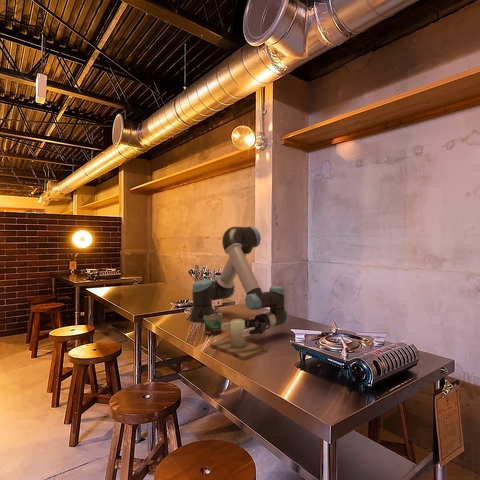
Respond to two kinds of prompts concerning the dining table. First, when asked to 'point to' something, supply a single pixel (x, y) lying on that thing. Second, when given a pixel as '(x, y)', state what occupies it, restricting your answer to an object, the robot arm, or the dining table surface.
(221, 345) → the walnut board
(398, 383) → the dining table surface
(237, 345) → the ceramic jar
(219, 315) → the food container
